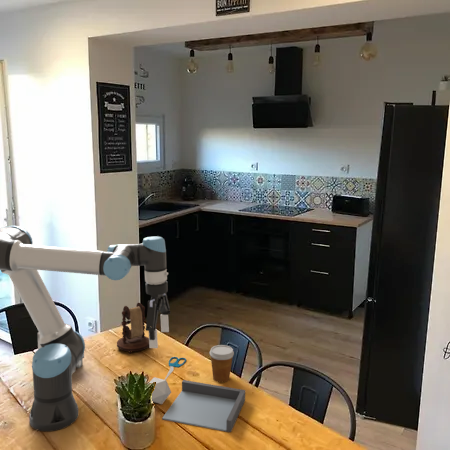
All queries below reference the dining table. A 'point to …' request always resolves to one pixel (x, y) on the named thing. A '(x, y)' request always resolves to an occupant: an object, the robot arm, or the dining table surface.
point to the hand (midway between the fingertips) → (159, 339)
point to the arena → (206, 406)
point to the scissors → (174, 365)
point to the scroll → (133, 330)
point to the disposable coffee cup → (221, 362)
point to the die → (160, 390)
